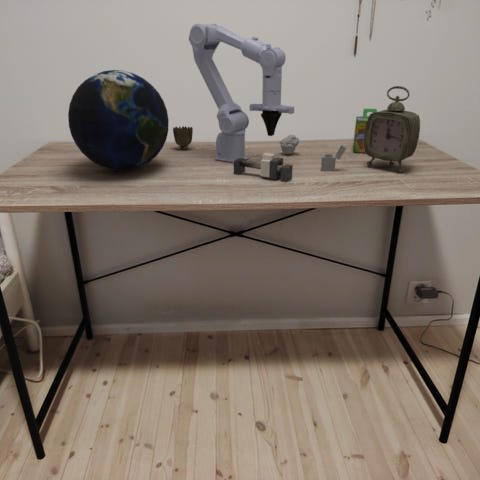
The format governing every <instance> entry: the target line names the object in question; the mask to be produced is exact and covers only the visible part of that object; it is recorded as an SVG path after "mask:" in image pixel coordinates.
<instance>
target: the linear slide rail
mask: <svg viewBox="0 0 480 480" xmlns="http://www.w3.org/2000/svg"><path fill="white" fill-rule="evenodd" d="M293 167H294V166H293V164H285V165H283V166H282V165H278V164H277V172H281V176H280V181H281V182H283V183H284V182H285V183H288V182H289V181H291V180H292V179H293ZM246 168H250V169H257V170H261V161H252V160H247V159H246V160H245V159H243V158H238V159H236V160H234V162H233V174H234V175H238V176H239V175H242V174H243V173H246V172H245V171H246Z"/></svg>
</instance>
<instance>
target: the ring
mask: <svg viewBox="0 0 480 480" xmlns="http://www.w3.org/2000/svg"><path fill="white" fill-rule="evenodd" d="M277 164H278V165H282V166H284V157H279V156H275V159H273V160H271V161H270V171H269V177H268V179H269V180H270V179H271V180H277V179H278V178H281V172H277Z"/></svg>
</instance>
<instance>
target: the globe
mask: <svg viewBox="0 0 480 480" xmlns="http://www.w3.org/2000/svg"><path fill="white" fill-rule="evenodd" d="M67 114H68V116H67V117H68V128H69V132H70V135H71V137H72V139H73V141H74V144H75V145H76V147H77V148H78V149H79V151H80V152H81V153H82V154H83V155H84V156H85V157H86V158H87V159H89V160H90V161H91V162H92V163H94V164H96V165H98V166H99V167H102V168H105V169H108V170H112V171H121V172H122V171H124V172H125V171H132V170H136V169H139V168H141V167H143V166H146V165H147V164H149V163H151V162H152V161H153V160H154V159H155V158H156V157H157V156H158V155H159V153H160V152H161V150H163V147H164V146H165V143H166V141H167V138H168V133H169V114H168V110H167V107H166V103H165V102H164V100H163V98H162V96H161V94H160V93H159V91H157V89H156V88H155V87H154V86H153V85H152V84H151V83H150V82H149V81H147V80H146V79H145V78H143V77H141V76H139V75H138V74H136V73H133V72H130V71H125V70H119V69H113V70H111V69H109V70H103V71H101V72H96V73H94V74H93V75H91V76H90V77H88V78H87V79H85V80H84V81H83V82H82V83H80V85H79V86H78V87H77V88H76V90H75V92H74V93H73V95H72V97H71V100H70V102H69V107H68V113H67Z"/></svg>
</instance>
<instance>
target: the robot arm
mask: <svg viewBox="0 0 480 480" xmlns="http://www.w3.org/2000/svg"><path fill="white" fill-rule="evenodd" d="M188 41H189V43H190V45H191V48H192V53H193V59H194V60H193V61H194V63H195V65H196V66H197V68H198V70H199V73H200V75H201V76H202V79H203V80H204V83H205V84H206V87H207V89H208V90H209V93H210V95H211V97H212V99H213V101H214V103H215V105H216V107H217V109H218V110H217V114H216V119H217V121H218V126H219V129H220V131H221V132H219V133H218V134H217V136H216V139H215V140H216V141H215V150H216V152H215V153H216V154H215V156H216V158H215V159H214V160H215V161H220V162H221V161H222V162H227V163H234V160H236V159H238V158H243V159H245V160H246V161H247V160H248V159H250V156H248V155H246V143H245V142H246V129H247V128H248V126H249V123H250V120H249V119H250V118H249V116H248V114H247V113H246V112H245V111H244V110H242V108H241V105H239V104H237V103H236V102H234V99H233V98H232V96H231V94H230V92H229V90H228V88H227V86H226V84H225V82H224V80H223V78H222V76H221V74H220V71H219V69H218V68H217V66H216V63H215V62H214V59H213V56H214V54H215V52H216V50H217V48H218V47H219V44H221V43H224V44H225V45H229V46H231V47H233V48H236V49H238V50H240V51H241V54H242V56H243V57H245V58H247V59H249V60H250V61H253V62H256V63H257V64H259V66H260V67H261V69H262V71H261V73H262V99H261V100H262V103H250V104H249V112H253V111H255V112H261V113H260V117H261V119H262V121H263V123H264V126H265V128H266V129H265V130H266V132H267V136H268V137H272V136H274V135H275V132H276V128H277V125H278V122H279V120H280V118H281V117H282V114H289V115H292V114H295V106H292V105H291V106H290V105H285V104H281V103H282V77H283V76H282V74H283V73H282V71H283V66H284V65H285V62H286V54H285V52H284V50H282V49H281V48H280V47H277V46H276V47H272V45H271V44H270V43H264V42H262V41H260V40H259V37H257V36H252V37H248V38H244V37H242V36H240V35H238V34H237V33H235V32H233V31H231V30H229V29H228V28H226V27H224V26H223V25H218V24H216V23H212V24H209V23H208V24H202V23H195V24H193V25H192V27H191V28H190V30H189V34H188Z"/></svg>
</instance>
